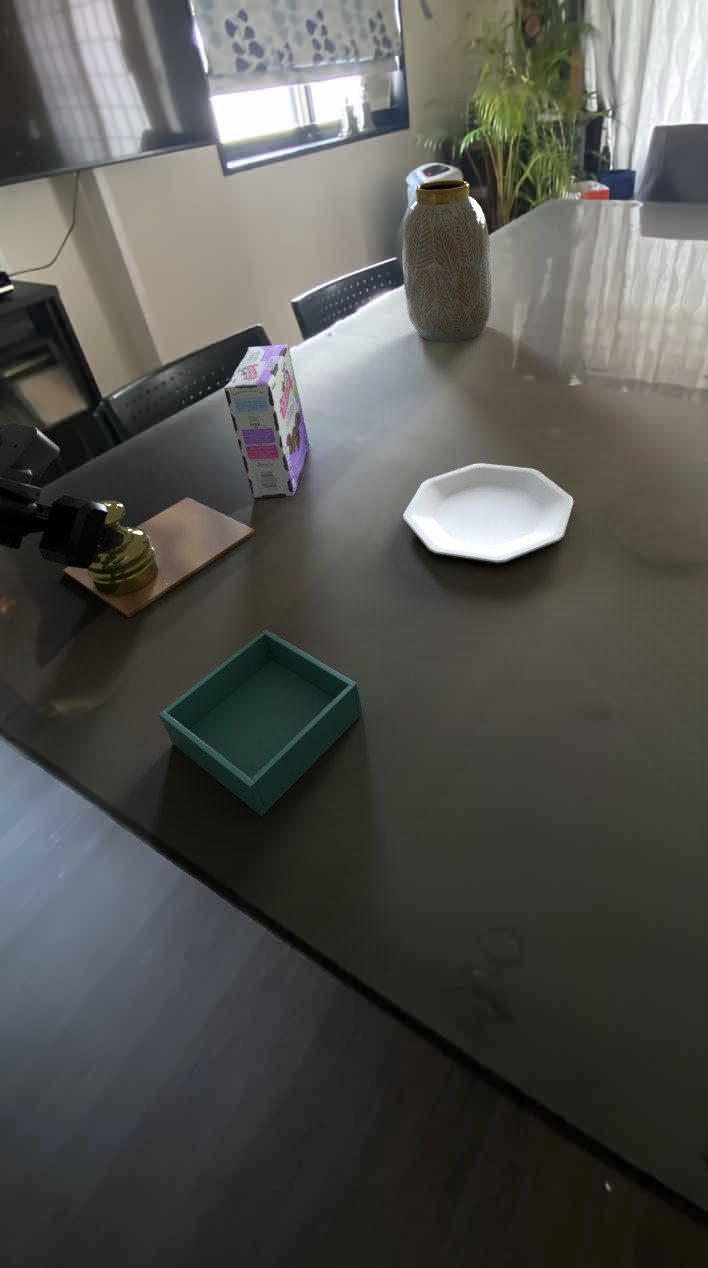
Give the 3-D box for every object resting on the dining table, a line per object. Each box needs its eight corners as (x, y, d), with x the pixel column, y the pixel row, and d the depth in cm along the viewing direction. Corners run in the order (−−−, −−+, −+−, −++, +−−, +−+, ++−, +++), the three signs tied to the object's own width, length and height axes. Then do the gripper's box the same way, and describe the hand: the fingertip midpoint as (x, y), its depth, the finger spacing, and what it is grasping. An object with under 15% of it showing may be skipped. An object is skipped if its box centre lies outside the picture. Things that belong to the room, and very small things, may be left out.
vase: (418, 315, 147) (406, 178, 131) (498, 314, 143) (495, 173, 128) (400, 346, 133) (384, 197, 118) (487, 346, 129) (483, 192, 114)
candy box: (295, 497, 91) (268, 384, 82) (251, 500, 92) (221, 387, 82) (311, 446, 103) (289, 341, 93) (272, 448, 103) (247, 344, 94)
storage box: (261, 816, 54) (250, 787, 52) (172, 743, 60) (158, 714, 58) (363, 713, 61) (356, 683, 59) (273, 657, 68) (265, 629, 65)
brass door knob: (134, 548, 84) (105, 480, 78) (173, 567, 80) (147, 496, 74) (81, 584, 79) (46, 514, 73) (120, 605, 75) (87, 533, 70)
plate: (553, 580, 74) (554, 569, 73) (385, 554, 80) (384, 544, 79) (580, 483, 89) (581, 473, 88) (437, 467, 95) (436, 458, 94)
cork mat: (128, 618, 74) (127, 614, 74) (64, 573, 82) (62, 569, 81) (255, 532, 85) (254, 529, 85) (188, 500, 93) (187, 497, 93)
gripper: (50, 428, 57) (178, 474, 71) (-89, 401, 64) (53, 448, 78) (8, 558, 55) (147, 578, 70) (-129, 516, 63) (23, 542, 77)
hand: (91, 531), depth 74 cm, fingers open, 9 cm apart
